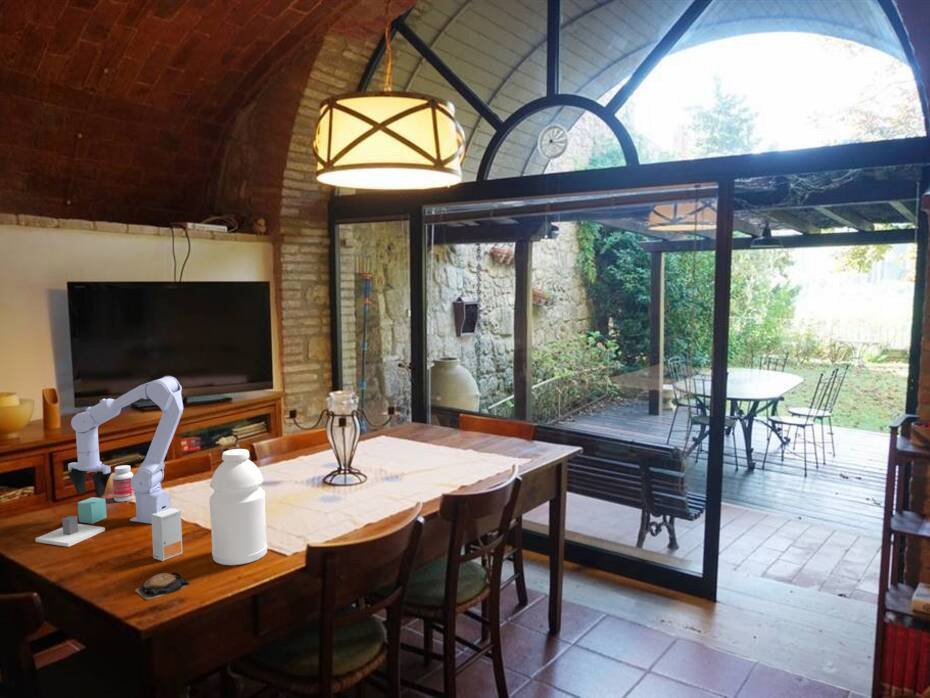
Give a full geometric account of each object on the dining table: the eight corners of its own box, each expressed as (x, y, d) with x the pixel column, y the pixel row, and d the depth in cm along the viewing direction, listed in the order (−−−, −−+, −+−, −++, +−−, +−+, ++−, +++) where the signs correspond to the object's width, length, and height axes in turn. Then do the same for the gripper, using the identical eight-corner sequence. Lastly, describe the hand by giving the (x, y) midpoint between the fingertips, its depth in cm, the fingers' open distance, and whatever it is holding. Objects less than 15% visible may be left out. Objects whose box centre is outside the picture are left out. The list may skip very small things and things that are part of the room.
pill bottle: (135, 499, 216) (133, 467, 215) (115, 503, 213) (112, 470, 212) (133, 494, 221) (131, 463, 220) (113, 498, 218) (111, 466, 217)
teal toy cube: (106, 517, 200) (105, 498, 199) (92, 523, 195) (90, 504, 194) (93, 515, 201) (92, 497, 201) (79, 521, 197) (77, 502, 196)
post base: (104, 530, 189) (103, 512, 189) (68, 546, 178) (67, 527, 177) (73, 526, 193) (71, 508, 192) (35, 541, 181) (34, 522, 181)
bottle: (225, 544, 179) (220, 444, 176) (274, 544, 178) (270, 444, 175) (203, 566, 165) (197, 458, 162) (256, 566, 164) (252, 459, 161)
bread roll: (147, 604, 147) (146, 588, 146) (133, 592, 153) (132, 577, 152) (193, 587, 155) (192, 572, 154) (178, 576, 160) (177, 562, 160)
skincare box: (162, 561, 168) (160, 517, 166) (152, 558, 170) (150, 514, 169) (183, 553, 173) (181, 510, 172) (174, 550, 175) (171, 507, 174)
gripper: (117, 449, 198) (120, 492, 199) (81, 445, 202) (83, 488, 203) (98, 455, 191) (101, 499, 192) (60, 451, 195) (63, 495, 197)
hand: (90, 494), depth 197 cm, fingers open, 7 cm apart
